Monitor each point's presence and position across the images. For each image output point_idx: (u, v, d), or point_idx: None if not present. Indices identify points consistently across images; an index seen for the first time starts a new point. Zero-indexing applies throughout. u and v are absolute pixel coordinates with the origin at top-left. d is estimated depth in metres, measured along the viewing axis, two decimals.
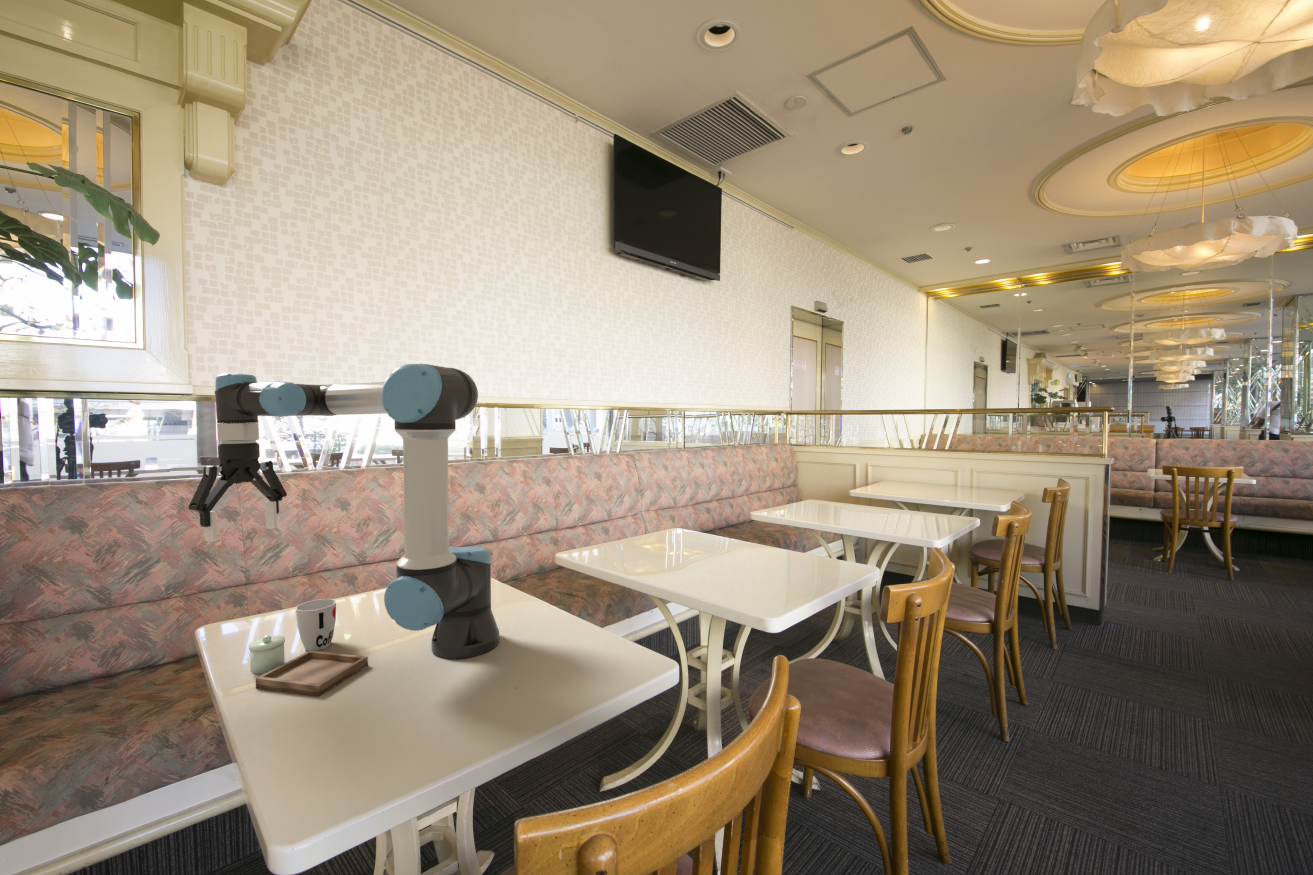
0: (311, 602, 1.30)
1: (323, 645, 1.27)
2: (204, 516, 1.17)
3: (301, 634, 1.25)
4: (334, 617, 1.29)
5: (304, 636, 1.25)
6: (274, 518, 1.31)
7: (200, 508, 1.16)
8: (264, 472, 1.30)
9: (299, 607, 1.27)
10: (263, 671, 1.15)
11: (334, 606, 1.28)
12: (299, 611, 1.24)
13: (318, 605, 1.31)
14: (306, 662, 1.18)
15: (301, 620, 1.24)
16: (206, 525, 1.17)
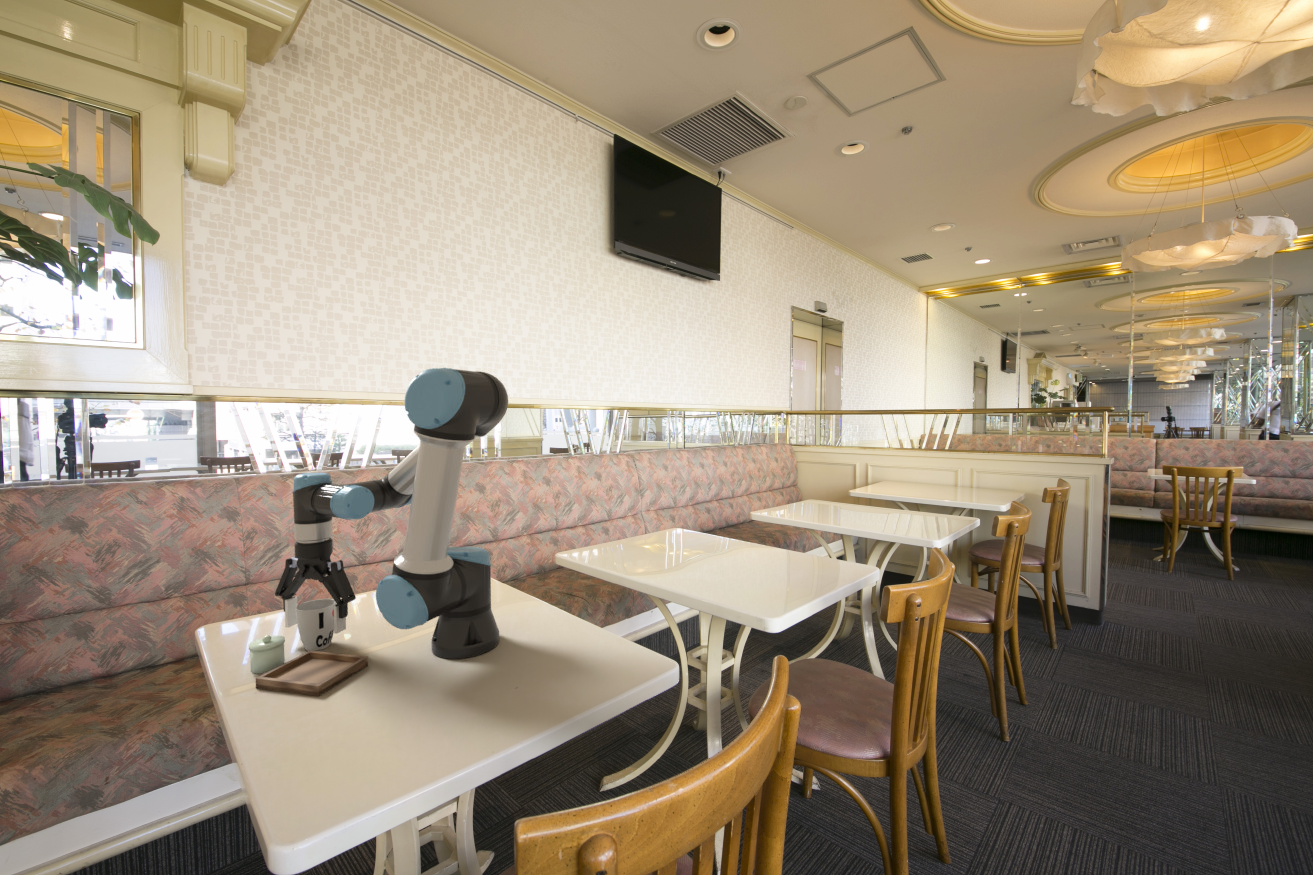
0: (311, 602, 1.30)
1: (323, 645, 1.27)
2: (283, 602, 1.29)
3: (301, 634, 1.25)
4: None
5: (304, 636, 1.25)
6: (334, 622, 1.25)
7: (277, 594, 1.29)
8: None
9: (299, 607, 1.27)
10: (263, 671, 1.15)
11: None
12: (299, 611, 1.24)
13: (318, 605, 1.31)
14: (306, 662, 1.18)
15: (301, 620, 1.24)
16: (284, 610, 1.29)
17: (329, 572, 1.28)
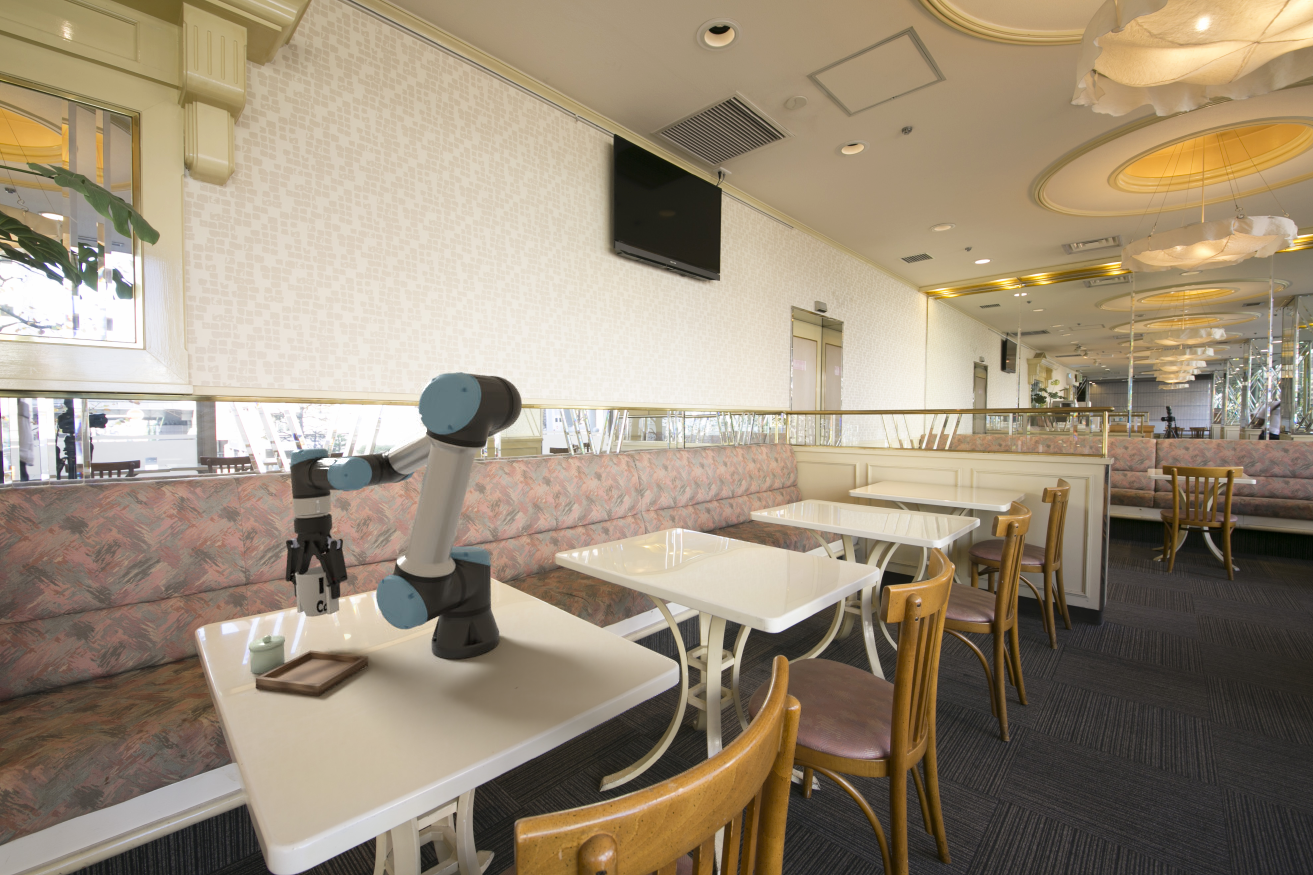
0: (310, 569, 1.30)
1: (324, 611, 1.26)
2: (294, 587, 1.28)
3: (301, 599, 1.24)
4: None
5: (305, 602, 1.24)
6: (327, 603, 1.25)
7: (288, 579, 1.28)
8: None
9: (298, 573, 1.27)
10: (263, 671, 1.15)
11: None
12: (299, 576, 1.24)
13: (318, 572, 1.31)
14: (306, 662, 1.18)
15: (301, 585, 1.24)
16: (296, 596, 1.28)
17: (327, 549, 1.28)
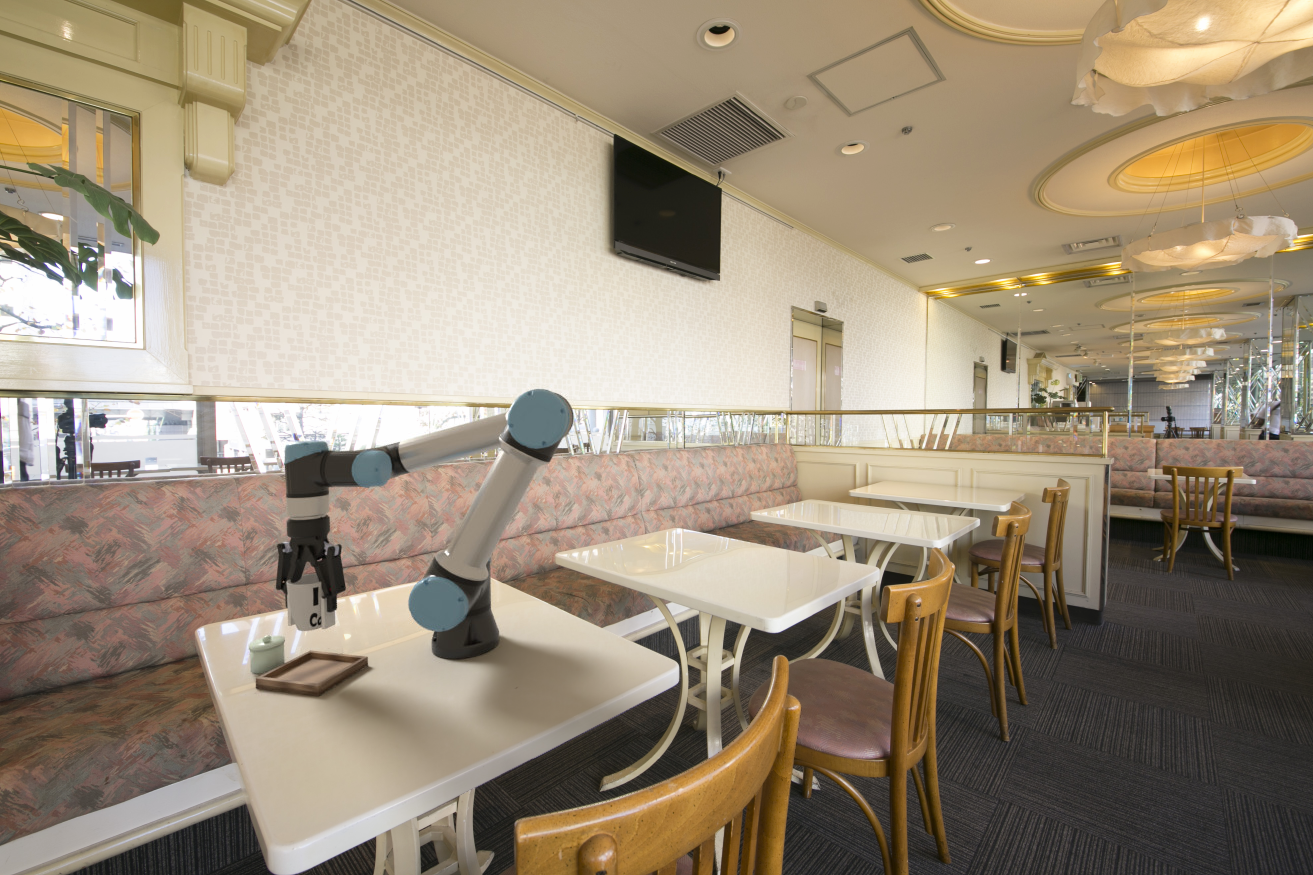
0: (304, 577, 1.15)
1: (318, 625, 1.11)
2: (285, 597, 1.13)
3: (293, 612, 1.10)
4: None
5: (296, 614, 1.09)
6: (322, 617, 1.11)
7: (278, 588, 1.13)
8: None
9: (290, 581, 1.12)
10: (263, 671, 1.15)
11: None
12: (290, 585, 1.09)
13: (312, 580, 1.16)
14: (306, 662, 1.18)
15: (292, 595, 1.09)
16: (286, 606, 1.13)
17: (324, 555, 1.13)
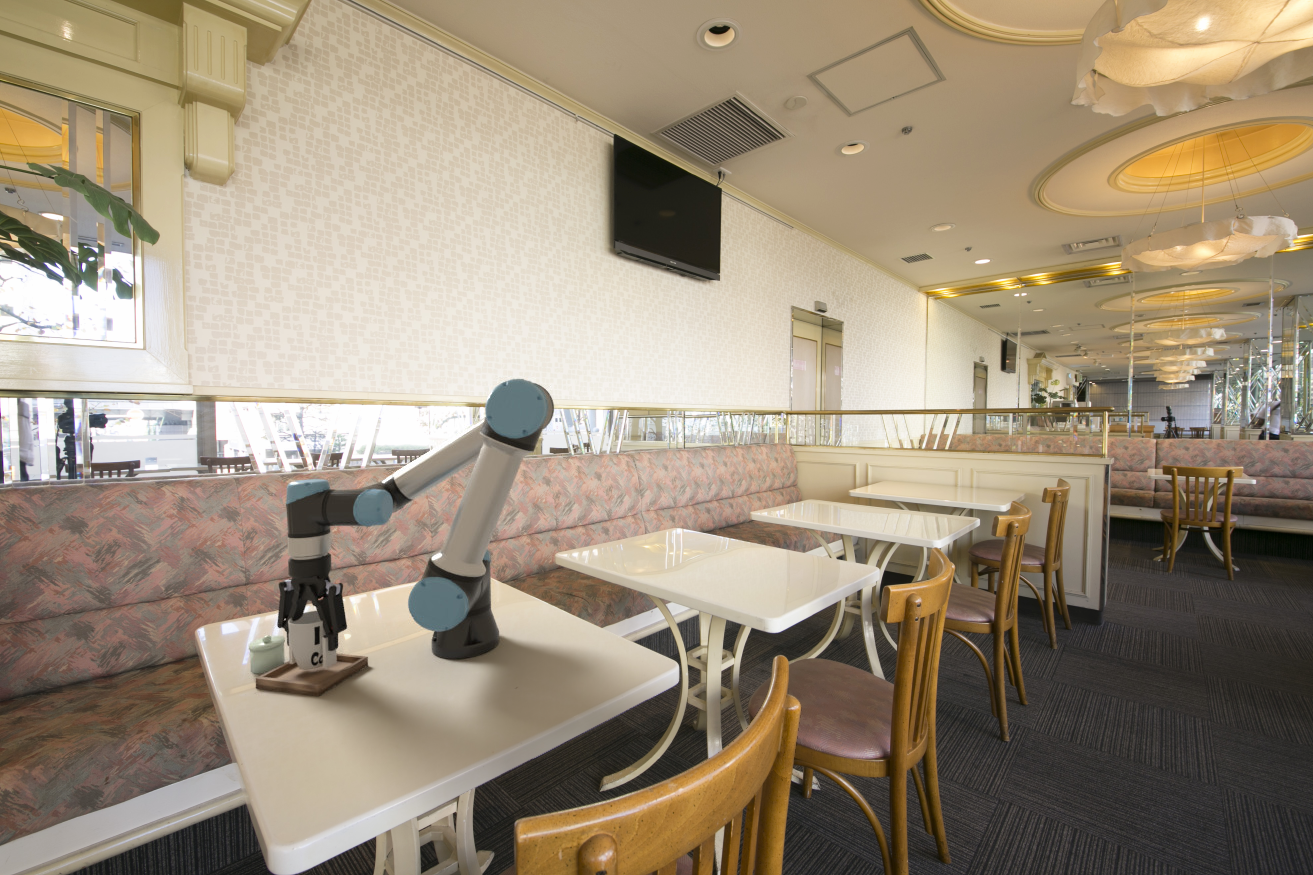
0: (305, 614, 1.15)
1: (319, 663, 1.12)
2: (287, 635, 1.14)
3: (294, 651, 1.10)
4: None
5: (298, 654, 1.10)
6: (323, 656, 1.11)
7: (280, 626, 1.13)
8: None
9: None
10: (263, 671, 1.15)
11: None
12: (292, 624, 1.09)
13: (313, 617, 1.16)
14: None
15: (294, 635, 1.09)
16: (288, 644, 1.14)
17: (325, 594, 1.13)
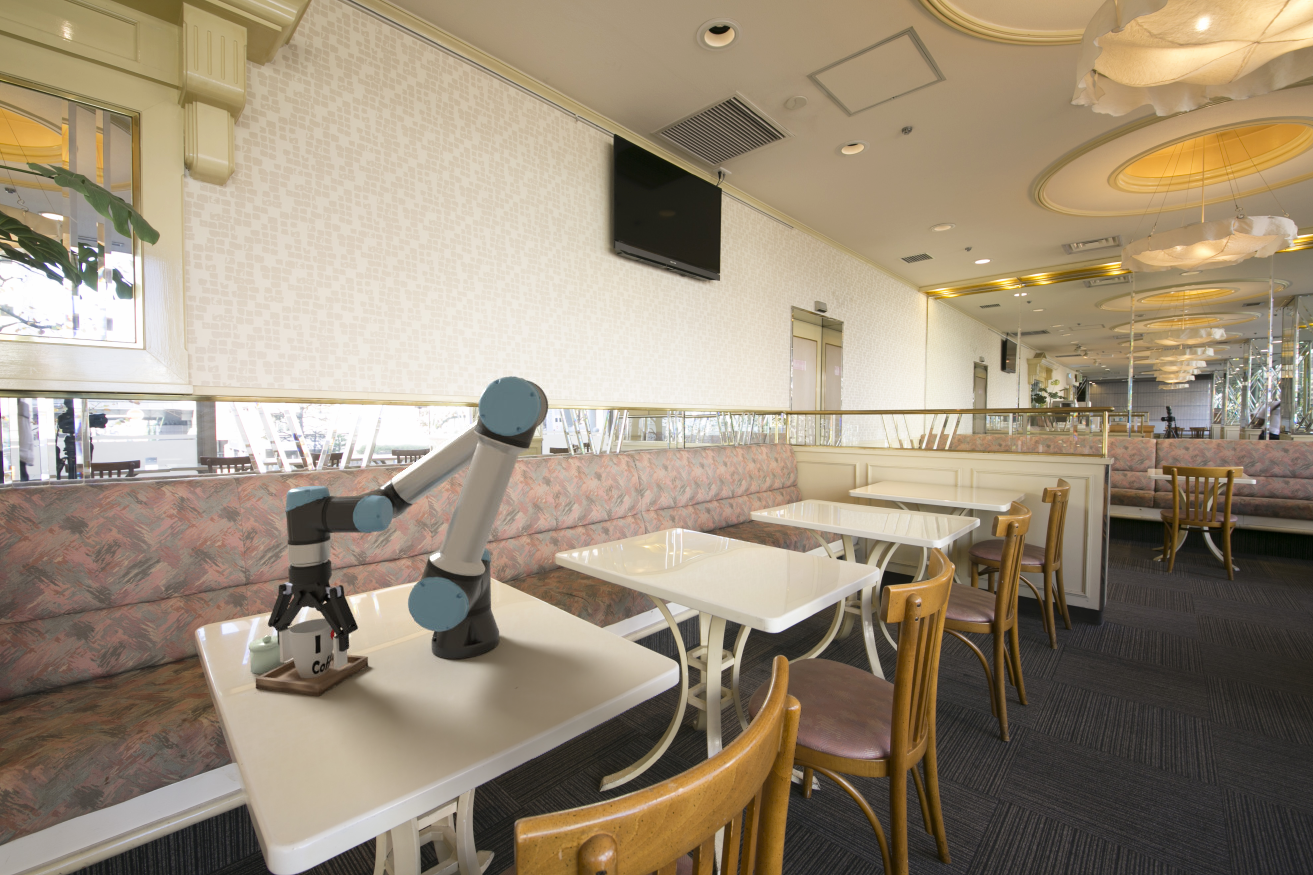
0: (306, 623, 1.16)
1: (320, 672, 1.12)
2: (277, 633, 1.14)
3: (295, 660, 1.10)
4: None
5: (299, 662, 1.10)
6: (334, 656, 1.11)
7: (270, 625, 1.14)
8: None
9: (292, 629, 1.13)
10: (263, 671, 1.15)
11: None
12: (293, 633, 1.09)
13: (314, 625, 1.16)
14: None
15: (295, 644, 1.09)
16: (279, 643, 1.14)
17: (328, 598, 1.13)
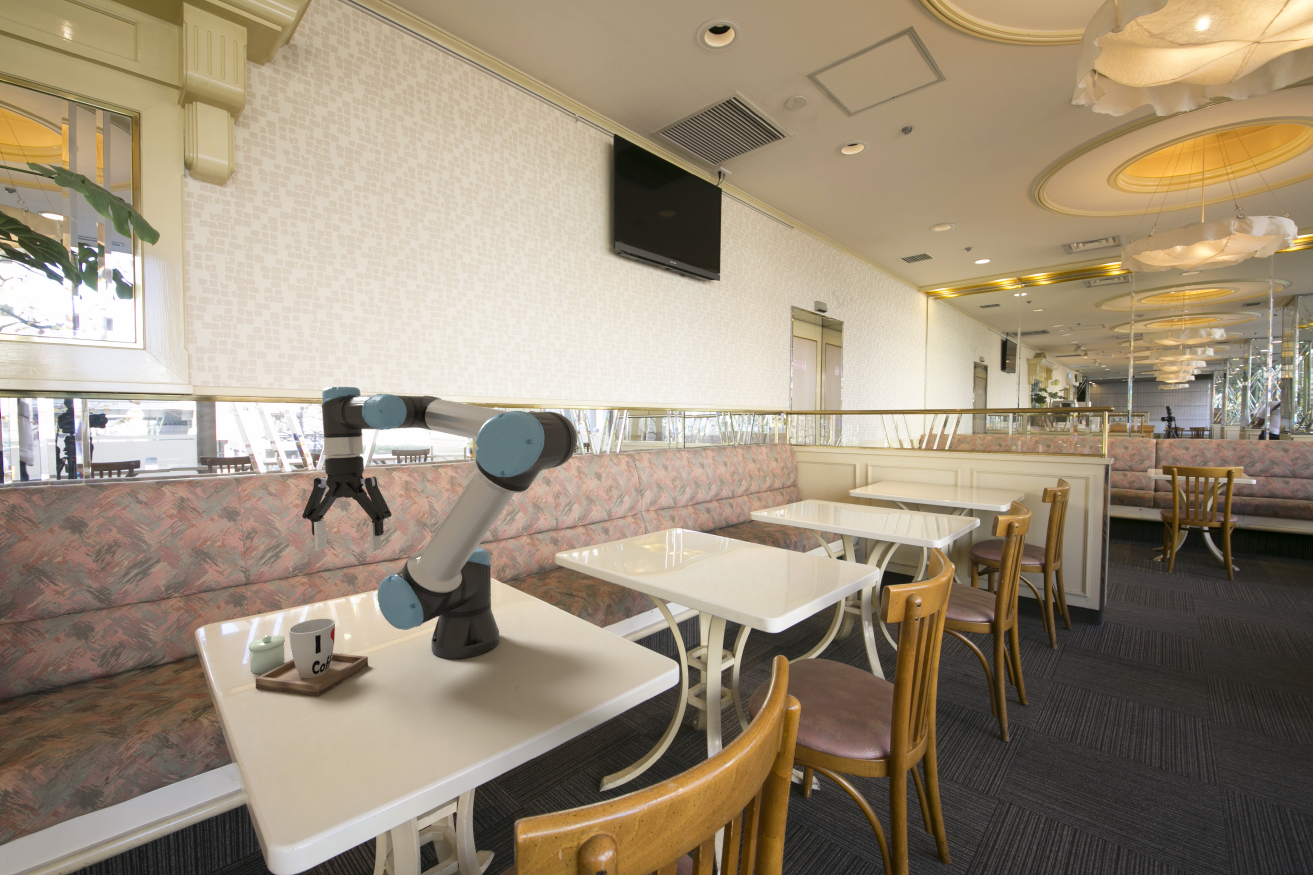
0: (306, 623, 1.16)
1: (320, 672, 1.12)
2: None
3: (295, 660, 1.10)
4: (333, 640, 1.14)
5: (299, 662, 1.10)
6: (370, 540, 1.21)
7: (305, 517, 1.23)
8: None
9: (292, 628, 1.13)
10: (263, 671, 1.15)
11: (333, 627, 1.14)
12: (293, 633, 1.09)
13: (314, 625, 1.16)
14: None
15: (295, 644, 1.09)
16: (313, 533, 1.23)
17: (361, 490, 1.23)
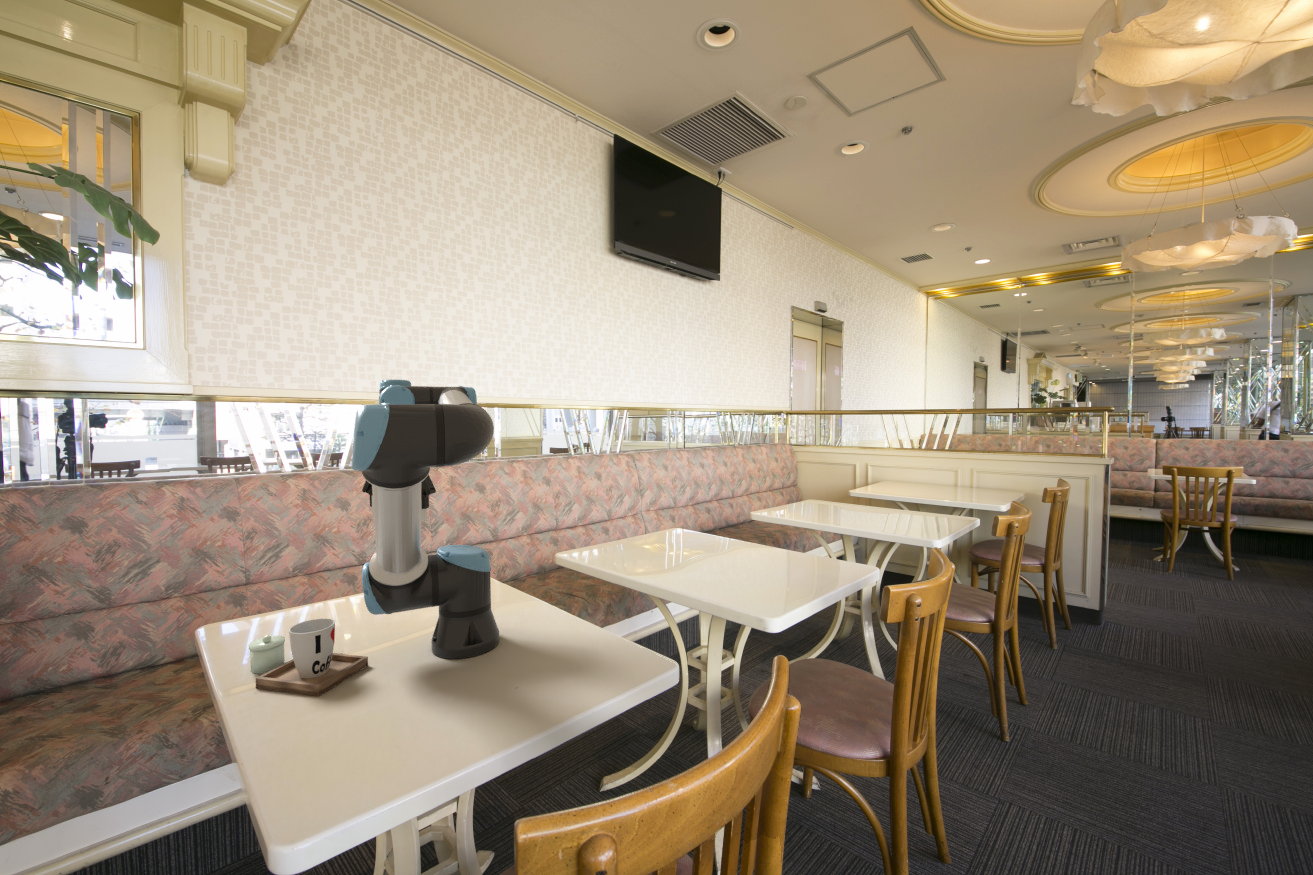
0: (306, 623, 1.16)
1: (320, 672, 1.12)
2: None
3: (295, 660, 1.10)
4: (333, 640, 1.14)
5: (299, 662, 1.10)
6: None
7: (364, 491, 1.43)
8: None
9: (292, 629, 1.13)
10: (263, 671, 1.15)
11: (333, 627, 1.14)
12: (293, 633, 1.09)
13: (314, 625, 1.16)
14: None
15: (295, 644, 1.09)
16: (371, 505, 1.43)
17: None
